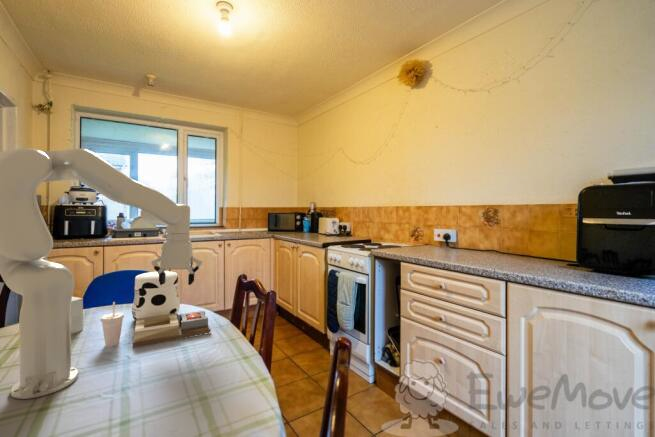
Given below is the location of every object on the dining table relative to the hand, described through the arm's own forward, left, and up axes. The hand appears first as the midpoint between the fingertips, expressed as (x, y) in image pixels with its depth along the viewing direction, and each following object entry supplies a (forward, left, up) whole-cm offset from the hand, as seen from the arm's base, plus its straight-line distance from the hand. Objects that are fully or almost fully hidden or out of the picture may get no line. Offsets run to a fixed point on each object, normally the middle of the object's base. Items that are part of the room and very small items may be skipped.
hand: (176, 284), depth 108 cm
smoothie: (-1, +19, -18) cm, 26 cm away
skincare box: (+18, +33, -18) cm, 42 cm away
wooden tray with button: (0, +1, -18) cm, 18 cm away
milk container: (+19, +6, -18) cm, 27 cm away
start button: (0, -6, -16) cm, 17 cm away
